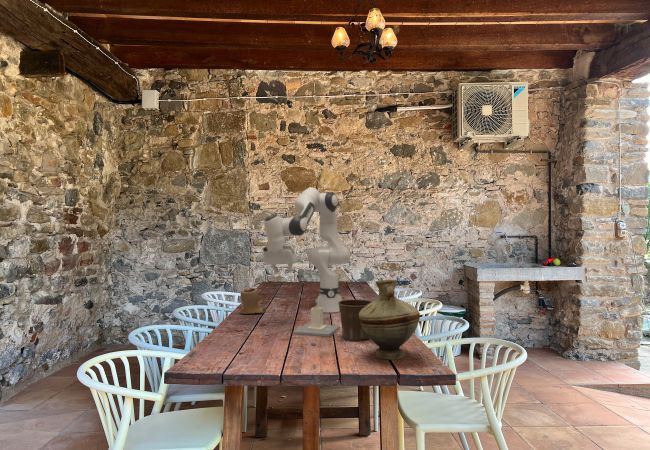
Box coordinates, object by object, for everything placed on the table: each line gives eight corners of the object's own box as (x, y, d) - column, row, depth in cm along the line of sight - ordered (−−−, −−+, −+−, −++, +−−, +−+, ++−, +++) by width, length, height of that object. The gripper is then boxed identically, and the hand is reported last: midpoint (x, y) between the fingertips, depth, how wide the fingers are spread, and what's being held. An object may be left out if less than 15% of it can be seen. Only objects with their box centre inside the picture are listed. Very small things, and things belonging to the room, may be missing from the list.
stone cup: (238, 316, 249) (238, 290, 249) (241, 312, 261) (241, 287, 261) (264, 315, 249) (264, 289, 249) (266, 311, 261) (266, 286, 261)
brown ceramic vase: (383, 346, 185) (375, 276, 186) (435, 350, 170) (425, 274, 171) (352, 362, 166) (342, 285, 167) (406, 369, 151) (396, 283, 152)
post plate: (292, 334, 204) (292, 316, 204) (306, 326, 221) (306, 310, 221) (329, 336, 198) (329, 319, 199) (339, 328, 216) (339, 311, 216)
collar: (307, 329, 208) (307, 309, 208) (312, 326, 215) (312, 306, 215) (321, 330, 205) (321, 309, 205) (326, 327, 212) (326, 307, 212)
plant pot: (372, 343, 187) (371, 306, 187) (335, 341, 191) (335, 305, 191) (375, 334, 203) (374, 299, 203) (341, 332, 206) (341, 299, 207)
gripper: (296, 243, 218) (302, 269, 220) (267, 245, 231) (273, 270, 233) (288, 247, 213) (294, 273, 215) (259, 248, 226) (265, 274, 228)
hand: (283, 272), depth 224 cm, fingers open, 8 cm apart
